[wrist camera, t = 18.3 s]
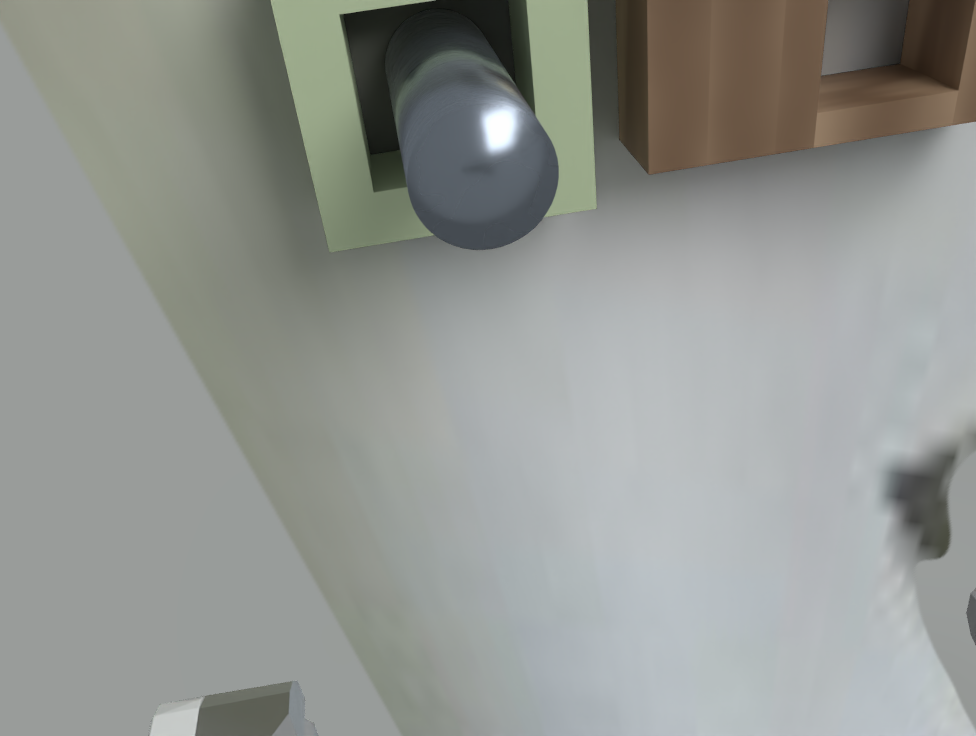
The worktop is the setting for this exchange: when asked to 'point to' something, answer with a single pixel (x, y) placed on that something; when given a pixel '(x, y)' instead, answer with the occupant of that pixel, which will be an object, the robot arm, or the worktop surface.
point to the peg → (466, 134)
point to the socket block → (778, 79)
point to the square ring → (380, 177)
